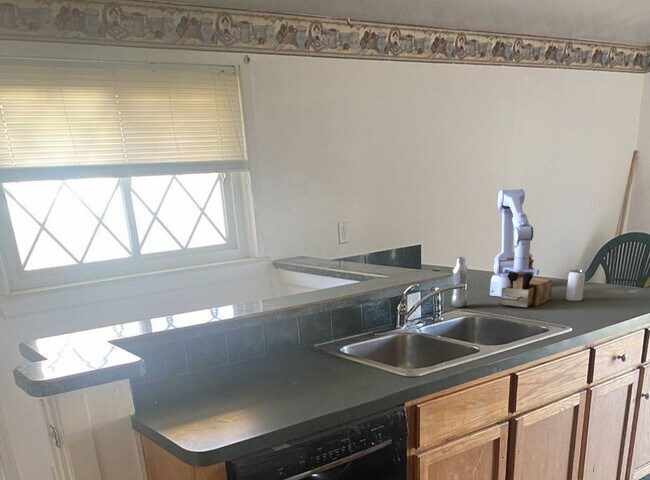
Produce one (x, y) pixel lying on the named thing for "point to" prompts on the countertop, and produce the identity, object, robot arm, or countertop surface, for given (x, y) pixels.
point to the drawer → (518, 296)
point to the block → (518, 284)
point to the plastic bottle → (459, 282)
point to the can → (575, 285)
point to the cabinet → (540, 289)
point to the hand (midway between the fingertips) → (519, 291)
